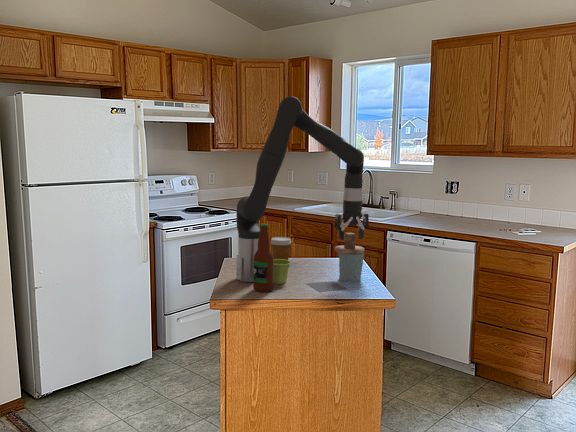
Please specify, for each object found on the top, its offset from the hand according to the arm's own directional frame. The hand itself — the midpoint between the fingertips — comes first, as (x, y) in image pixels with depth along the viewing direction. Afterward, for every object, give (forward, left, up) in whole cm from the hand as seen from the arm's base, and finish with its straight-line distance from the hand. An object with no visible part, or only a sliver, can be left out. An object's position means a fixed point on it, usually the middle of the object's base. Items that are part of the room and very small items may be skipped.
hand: (351, 239), depth 210 cm
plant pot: (-29, +5, -17) cm, 34 cm away
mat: (-14, -7, -17) cm, 23 cm away
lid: (0, +1, -5) cm, 5 cm away
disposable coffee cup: (-17, +33, -17) cm, 41 cm away
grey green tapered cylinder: (0, 0, -17) cm, 17 cm away
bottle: (-38, -2, -17) cm, 42 cm away
